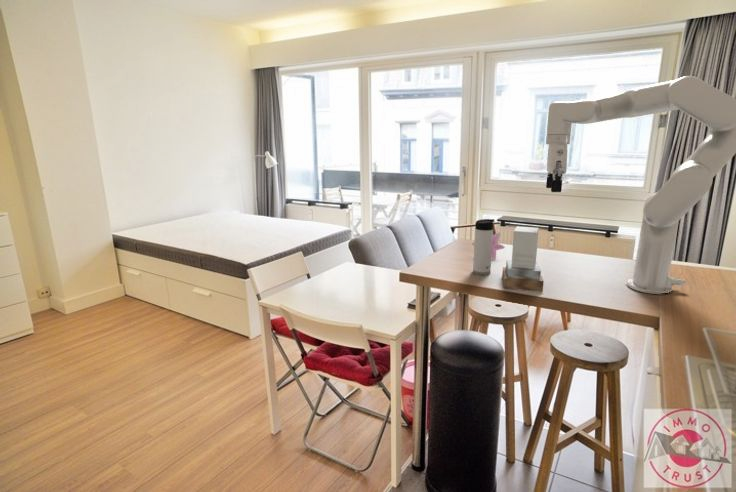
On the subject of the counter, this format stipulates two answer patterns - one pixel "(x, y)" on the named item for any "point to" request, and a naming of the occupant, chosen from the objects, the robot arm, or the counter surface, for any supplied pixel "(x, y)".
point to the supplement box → (525, 247)
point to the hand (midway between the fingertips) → (553, 189)
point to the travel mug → (483, 246)
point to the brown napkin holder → (522, 278)
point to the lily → (495, 245)
